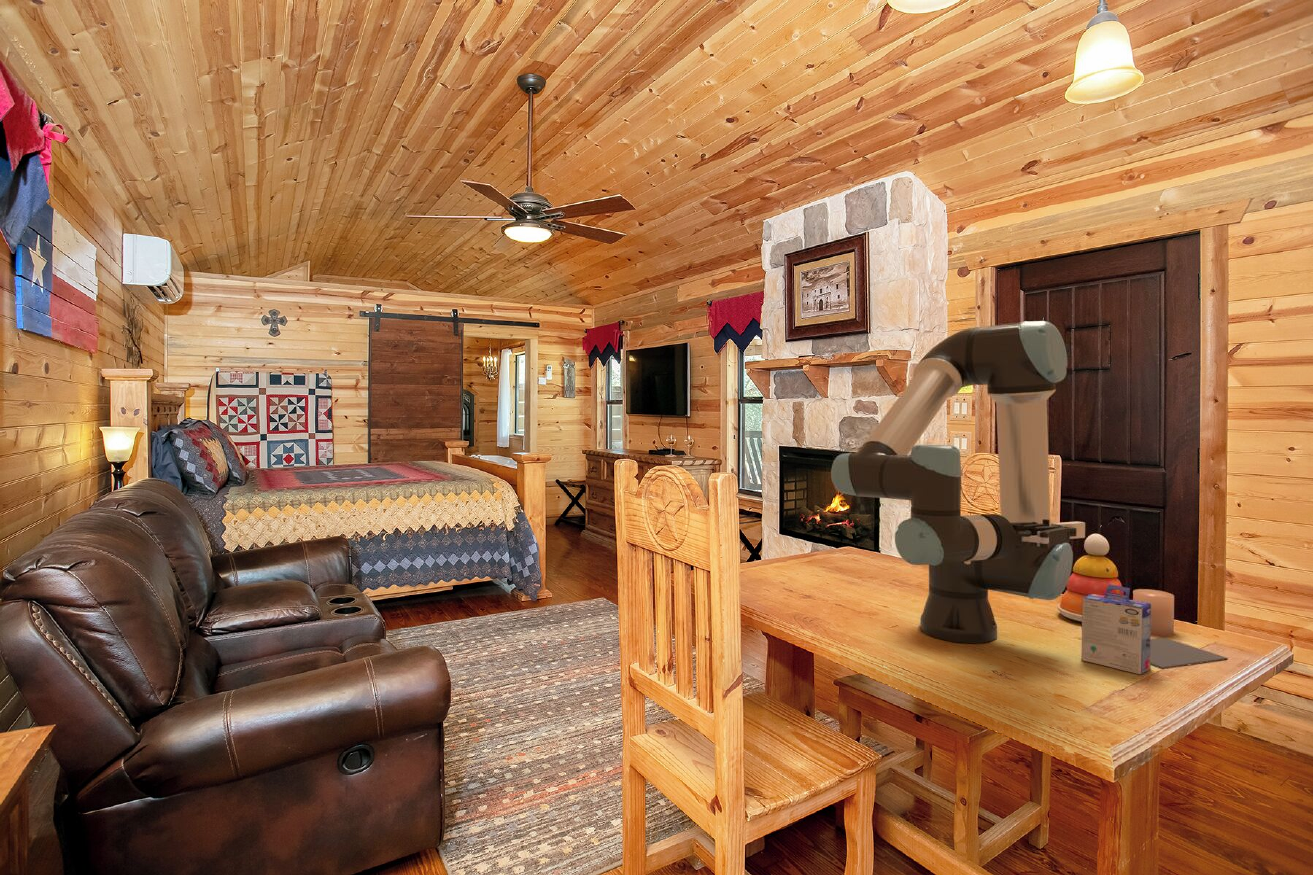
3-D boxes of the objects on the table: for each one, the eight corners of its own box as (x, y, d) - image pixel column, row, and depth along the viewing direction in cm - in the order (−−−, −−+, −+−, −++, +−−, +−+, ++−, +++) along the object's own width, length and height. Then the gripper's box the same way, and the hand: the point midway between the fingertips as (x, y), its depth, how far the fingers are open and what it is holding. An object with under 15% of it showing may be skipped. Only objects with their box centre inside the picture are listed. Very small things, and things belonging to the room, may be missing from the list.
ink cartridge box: (1152, 668, 121) (1153, 590, 120) (1143, 676, 117) (1144, 595, 117) (1090, 653, 128) (1091, 580, 128) (1080, 660, 125) (1080, 585, 124)
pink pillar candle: (1124, 626, 144) (1125, 590, 144) (1149, 623, 146) (1150, 588, 146) (1156, 637, 137) (1156, 599, 137) (1182, 633, 139) (1182, 596, 139)
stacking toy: (1098, 632, 141) (1098, 542, 140) (1042, 613, 154) (1042, 530, 154) (1148, 625, 145) (1149, 537, 144) (1090, 607, 158) (1090, 527, 158)
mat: (1102, 646, 132) (1102, 645, 132) (1164, 638, 136) (1164, 637, 136) (1162, 668, 121) (1162, 667, 121) (1227, 659, 125) (1227, 657, 125)
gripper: (951, 552, 117) (1048, 543, 125) (1013, 567, 105) (1116, 557, 113) (951, 510, 117) (1048, 504, 125) (1014, 520, 105) (1117, 513, 113)
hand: (1081, 529), depth 119 cm, fingers closed
